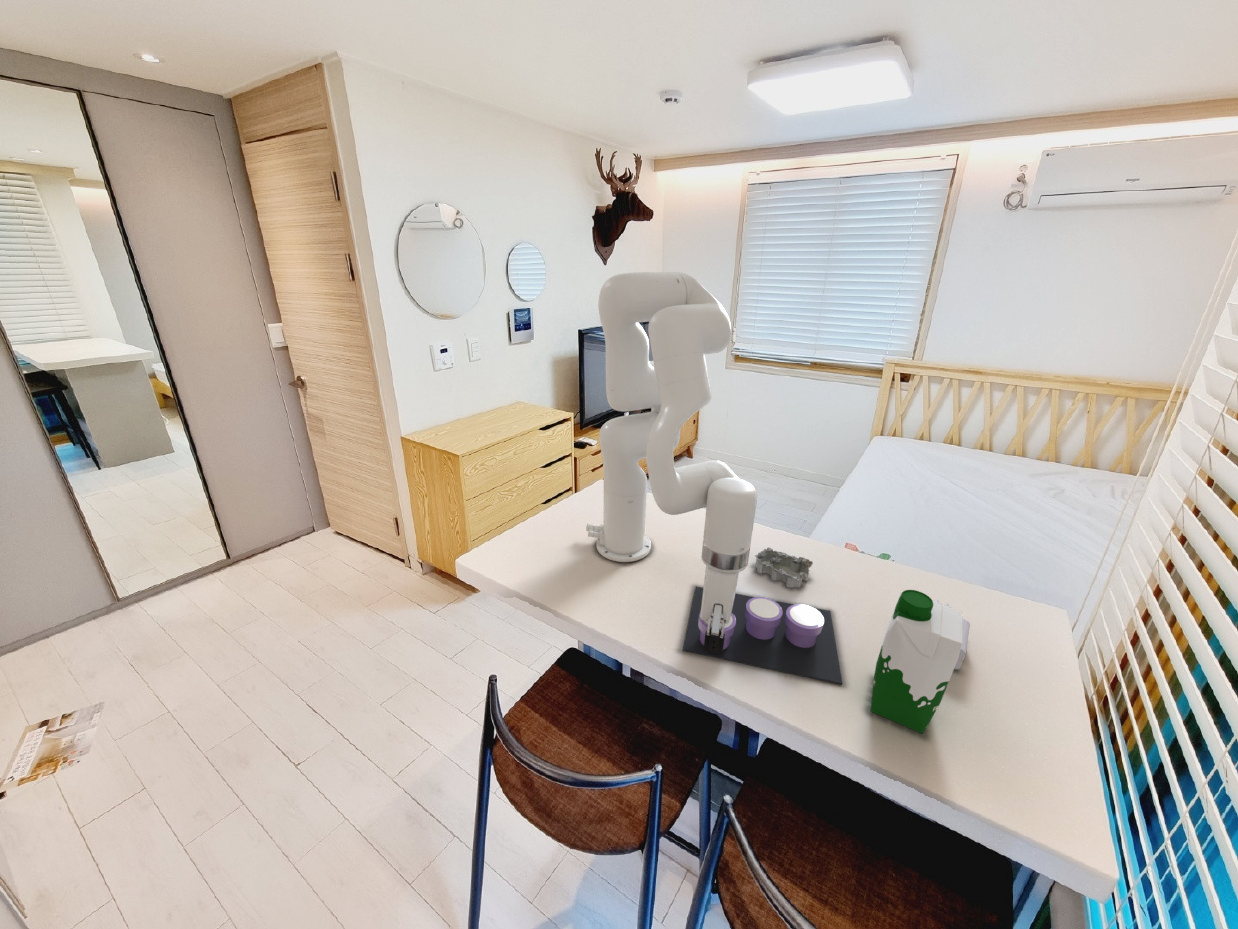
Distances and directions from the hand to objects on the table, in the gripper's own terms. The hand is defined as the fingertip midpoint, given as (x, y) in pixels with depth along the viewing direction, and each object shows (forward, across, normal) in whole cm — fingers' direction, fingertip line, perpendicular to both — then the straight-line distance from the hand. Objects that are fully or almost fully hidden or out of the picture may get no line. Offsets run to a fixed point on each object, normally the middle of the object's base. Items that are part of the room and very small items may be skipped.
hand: (715, 636), depth 89 cm
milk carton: (+2, +6, +29) cm, 30 cm away
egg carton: (+1, -24, +12) cm, 27 cm away
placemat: (+1, -5, +8) cm, 9 cm away
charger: (+2, -13, +39) cm, 41 cm away
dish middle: (+1, -5, +8) cm, 9 cm away
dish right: (+1, -5, +15) cm, 16 cm away
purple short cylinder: (+1, 0, 0) cm, 1 cm away
